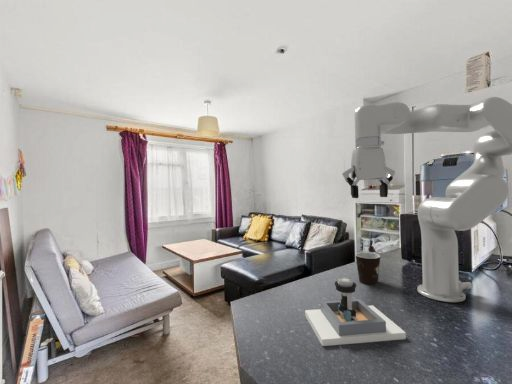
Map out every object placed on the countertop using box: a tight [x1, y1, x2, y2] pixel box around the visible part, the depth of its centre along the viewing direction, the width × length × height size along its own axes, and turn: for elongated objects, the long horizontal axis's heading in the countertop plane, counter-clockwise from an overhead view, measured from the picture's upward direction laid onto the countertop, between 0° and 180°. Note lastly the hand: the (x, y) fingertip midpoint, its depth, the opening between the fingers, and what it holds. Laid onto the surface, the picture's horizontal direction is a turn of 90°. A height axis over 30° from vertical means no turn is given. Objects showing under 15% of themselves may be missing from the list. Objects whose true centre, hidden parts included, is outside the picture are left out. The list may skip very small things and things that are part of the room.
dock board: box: [304, 298, 407, 347], centre depth 64 cm, size 20×14×4 cm
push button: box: [334, 277, 358, 322], centre depth 65 cm, size 7×5×10 cm
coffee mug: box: [354, 252, 381, 286], centre depth 94 cm, size 12×9×10 cm
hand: (369, 197), depth 81 cm, fingers open, 9 cm apart
